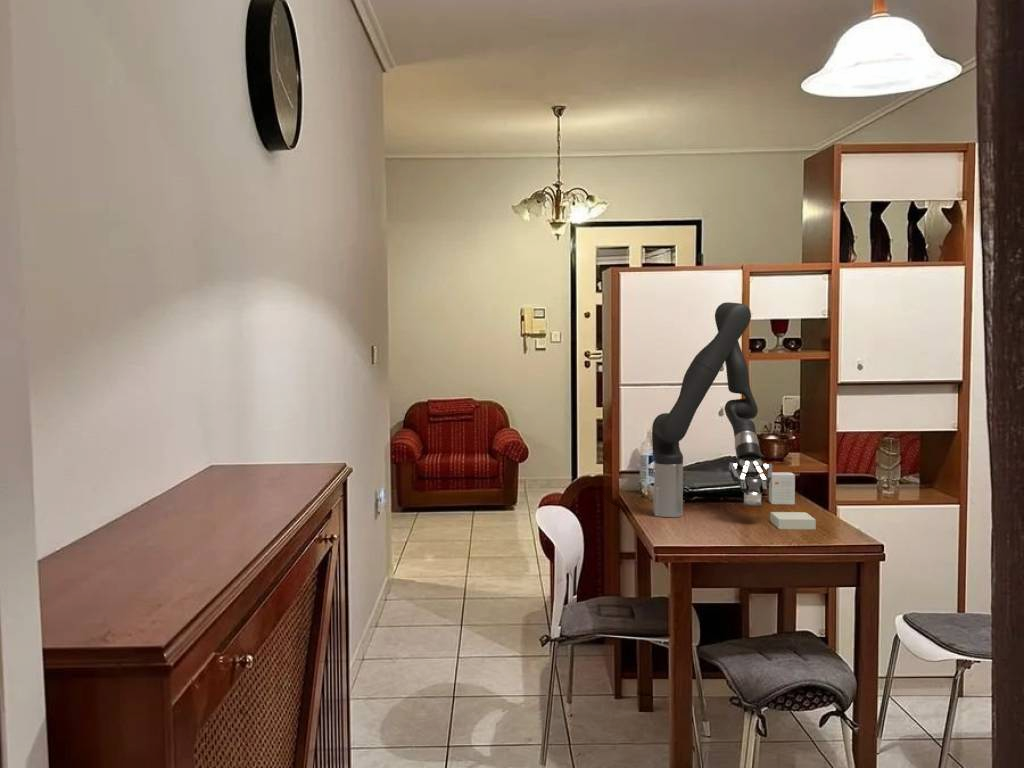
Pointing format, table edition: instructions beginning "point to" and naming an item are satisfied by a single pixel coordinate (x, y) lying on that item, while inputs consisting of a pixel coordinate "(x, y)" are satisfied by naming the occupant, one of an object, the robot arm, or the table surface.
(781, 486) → the small box
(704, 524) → the table surface
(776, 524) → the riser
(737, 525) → the table surface
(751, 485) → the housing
